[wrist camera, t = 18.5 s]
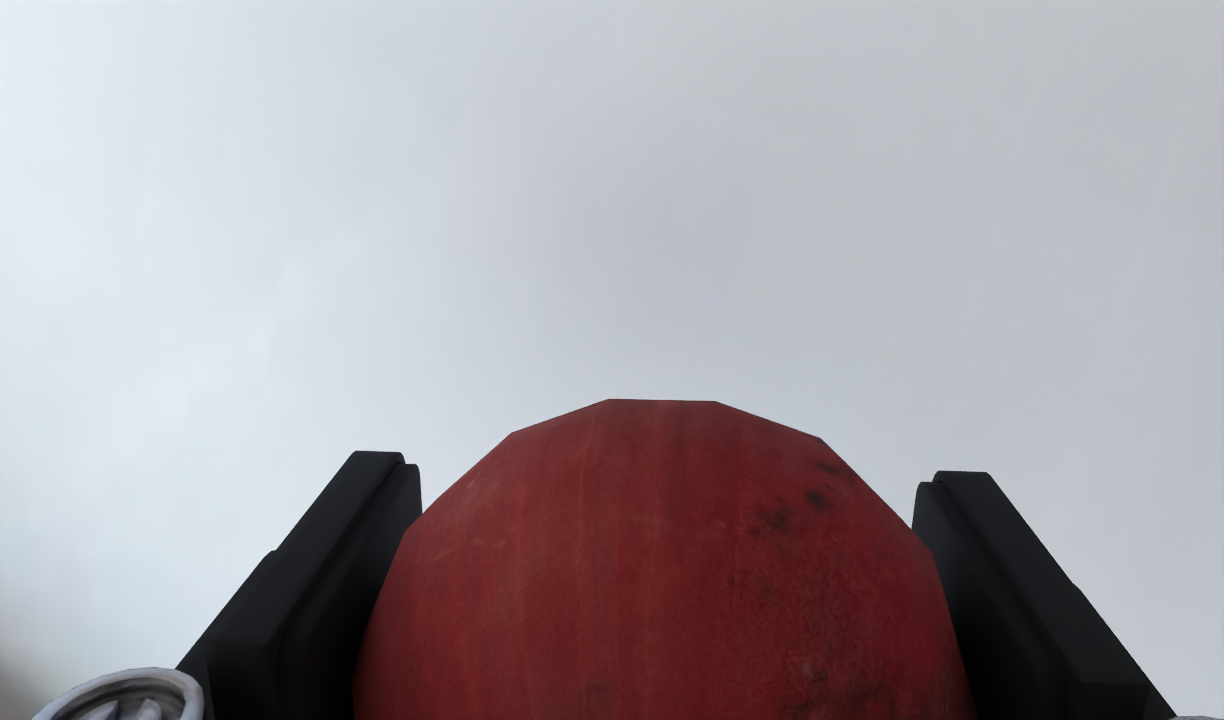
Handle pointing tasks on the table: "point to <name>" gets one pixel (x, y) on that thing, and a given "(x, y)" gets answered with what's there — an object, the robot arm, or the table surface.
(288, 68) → the table surface
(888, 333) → the table surface
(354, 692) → the onion
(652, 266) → the table surface
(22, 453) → the table surface
